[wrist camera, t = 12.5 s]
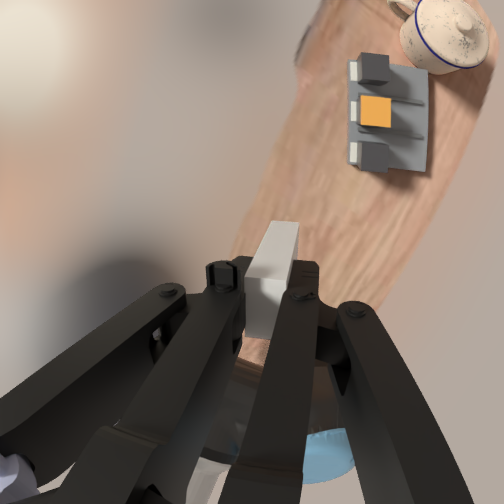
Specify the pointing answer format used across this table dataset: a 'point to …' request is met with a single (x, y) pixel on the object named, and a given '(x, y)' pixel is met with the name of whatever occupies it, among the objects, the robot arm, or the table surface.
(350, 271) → the table surface
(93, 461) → the robot arm
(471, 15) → the teacup with lid
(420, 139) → the panel
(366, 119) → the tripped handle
